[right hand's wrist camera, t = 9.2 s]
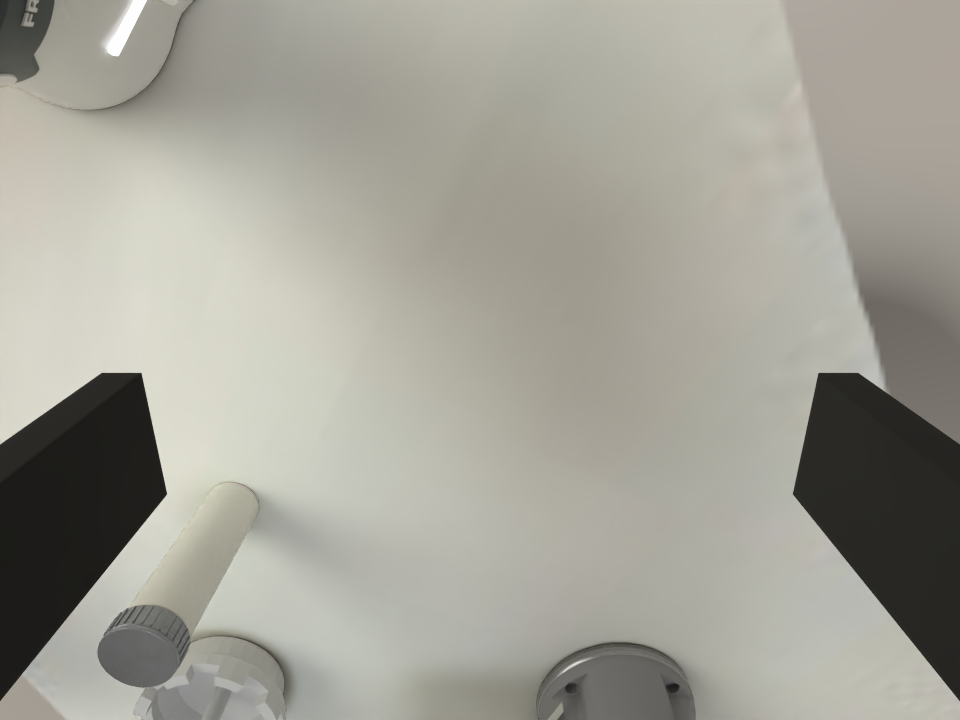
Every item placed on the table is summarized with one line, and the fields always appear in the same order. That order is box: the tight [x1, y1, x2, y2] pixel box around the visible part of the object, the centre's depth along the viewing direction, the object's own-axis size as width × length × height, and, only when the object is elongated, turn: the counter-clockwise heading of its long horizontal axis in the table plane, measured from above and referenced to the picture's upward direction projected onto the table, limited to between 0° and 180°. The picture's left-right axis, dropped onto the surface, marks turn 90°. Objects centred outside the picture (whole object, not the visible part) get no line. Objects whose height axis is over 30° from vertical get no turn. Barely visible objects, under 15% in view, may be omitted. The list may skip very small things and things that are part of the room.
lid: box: [98, 605, 191, 687], centre depth 41 cm, size 5×5×2 cm
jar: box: [129, 482, 259, 636], centre depth 48 cm, size 4×4×16 cm
